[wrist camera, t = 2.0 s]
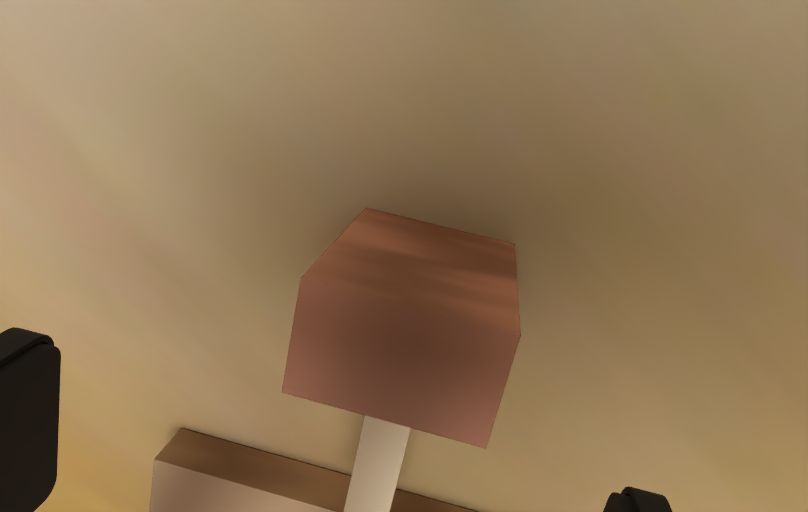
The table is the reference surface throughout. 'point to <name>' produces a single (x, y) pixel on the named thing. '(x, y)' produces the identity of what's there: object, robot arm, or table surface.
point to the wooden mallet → (405, 339)
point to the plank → (253, 481)
